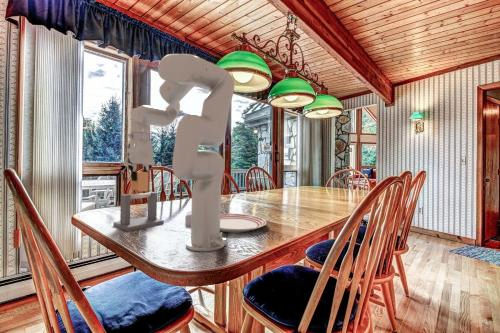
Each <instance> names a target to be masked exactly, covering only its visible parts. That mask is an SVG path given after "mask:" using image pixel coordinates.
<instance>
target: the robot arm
mask: <svg viewBox="0 0 500 333" xmlns="http://www.w3.org/2000/svg"><path fill="white" fill-rule="evenodd" d="M157 73H158V76H159V78H161V79H163V80H164V81H163V82H162V84H161V85H160V86H159V89H158V91H159V95H160V96H161V98H162V99H163V101H165V102H166V103H167V104H168V105H167V106H166V107H165V108H161V107H157V106H152V105H151V106H150V105H146V104H143V105H140V106H138V107H135V108H131V111H130V132H129V133H128V134H127V137H128V138H129V140H128V143H127V148H126V156H125V159H124V161H123V162H122V165H123V166H125V167H126V168H127V169H128V170H129V171H130V180H131V179H132V181H137V166H138V165H142V169H143V170H142V171H141V172H148V173H149V172H150V170H151V168H153V167H154V166H155V165H156V162H155V161H154V149H153V143H152V141H150V140H151V139H150V136H151V135H150V134H151V126H156V127H168V126H170V125H171V124H172V123H173V122H174V121H175V120H176V119H177V118H178V116H179V113H180V109H181V104H180V102H181V100H182V99H184V97H185V96H186V95H188V93H189V92H190V91H191V90H192V89H193V88H194V87H196V88H200V89H203V90H206V91H208V92H209V91H210V92H209V93H208V94H207V95H206V97H205V98H204V100H203V103H202V108H201V114H198V113H187V114H185V115H184V116H182V117H181V119H180V120H179V122H178V125H177V128H176V132H175V139H174V147H173V154H172V166H171V167H172V172H173V174H174V176H175V178H177V179H179V181H180V180H181V181H195V183H194V184H193V187H192V191H191V211H192V212H191V225H190V226H191V227H190V238H189V239H188V240H187V241H186V243H185V246H186V248H187V249H188V250H190V251H193V252H194V251H195V252H213V251H217V250H220V249H222V248H223V247H224V246H225V245H226V244H227V243H228V239H227V238H225V237H223V232H222V231H220V214H221V204H222V200H221V199H222V185H223V184H222V183H223V177H224V172H225V161H224V160H225V159H224V158H223V156H222V155H221V154H220V153H218V152H216V151H213V150H209V149H208V150H203V149H200V148H199V147H209V148H216V147H219V146H221V145H222V144H223V142H224V140H225V137H226V132H227V131H226V130H227V125H228V119H229V113H230V106H231V102H232V100H233V96H234V91H235V82H234V81H235V80H234V77H233V76H232V74H231V73H230V72H229V71H228V70H227V69H225V68H223V67H222V66H220V65H217V64H215V63H213V62H210V61H207V60H206V59H204V58H201V57H199V56H197V55H194V54H191V53H170V54H166V55H165V56H163V57H162V58H161V60H160V61H159V62H158V67H157Z"/></svg>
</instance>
